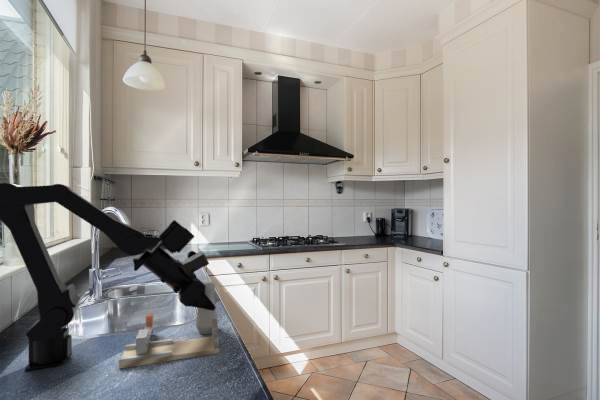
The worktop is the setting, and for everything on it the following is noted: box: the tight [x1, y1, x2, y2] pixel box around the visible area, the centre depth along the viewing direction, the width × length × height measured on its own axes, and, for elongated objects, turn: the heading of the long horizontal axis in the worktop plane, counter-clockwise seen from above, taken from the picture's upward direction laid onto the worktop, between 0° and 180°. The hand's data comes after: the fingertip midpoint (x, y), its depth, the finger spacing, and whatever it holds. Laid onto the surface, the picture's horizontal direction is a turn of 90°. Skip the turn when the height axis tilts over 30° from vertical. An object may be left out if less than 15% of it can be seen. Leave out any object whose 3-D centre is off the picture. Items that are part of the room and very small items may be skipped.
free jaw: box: [135, 312, 155, 356], centre depth 75 cm, size 2×16×4 cm, turn 19°
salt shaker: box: [194, 280, 219, 335], centre depth 84 cm, size 6×6×13 cm
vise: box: [118, 319, 220, 369], centre depth 72 cm, size 20×7×5 cm, turn 109°
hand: (210, 303), depth 85 cm, fingers open, 9 cm apart
